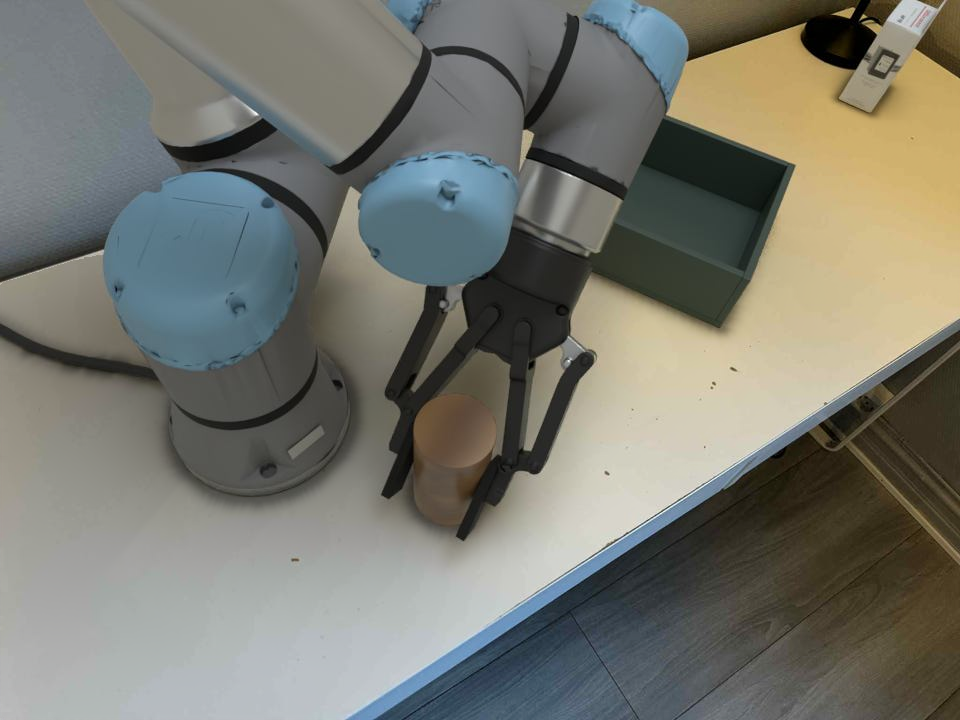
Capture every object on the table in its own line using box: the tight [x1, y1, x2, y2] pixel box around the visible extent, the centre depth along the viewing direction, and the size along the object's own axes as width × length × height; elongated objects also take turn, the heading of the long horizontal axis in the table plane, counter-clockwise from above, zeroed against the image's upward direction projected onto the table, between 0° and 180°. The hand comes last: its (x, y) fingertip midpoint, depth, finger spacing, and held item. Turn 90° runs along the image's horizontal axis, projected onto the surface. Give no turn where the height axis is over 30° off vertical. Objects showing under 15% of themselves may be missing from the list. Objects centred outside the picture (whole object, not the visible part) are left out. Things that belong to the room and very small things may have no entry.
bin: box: [589, 114, 797, 328], centre depth 74 cm, size 24×20×8 cm
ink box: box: [838, 0, 948, 113], centre depth 90 cm, size 8×5×15 cm, turn 143°
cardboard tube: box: [412, 392, 498, 527], centre depth 52 cm, size 6×6×12 cm
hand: (427, 511), depth 52 cm, fingers closed on cardboard tube, 6 cm apart
